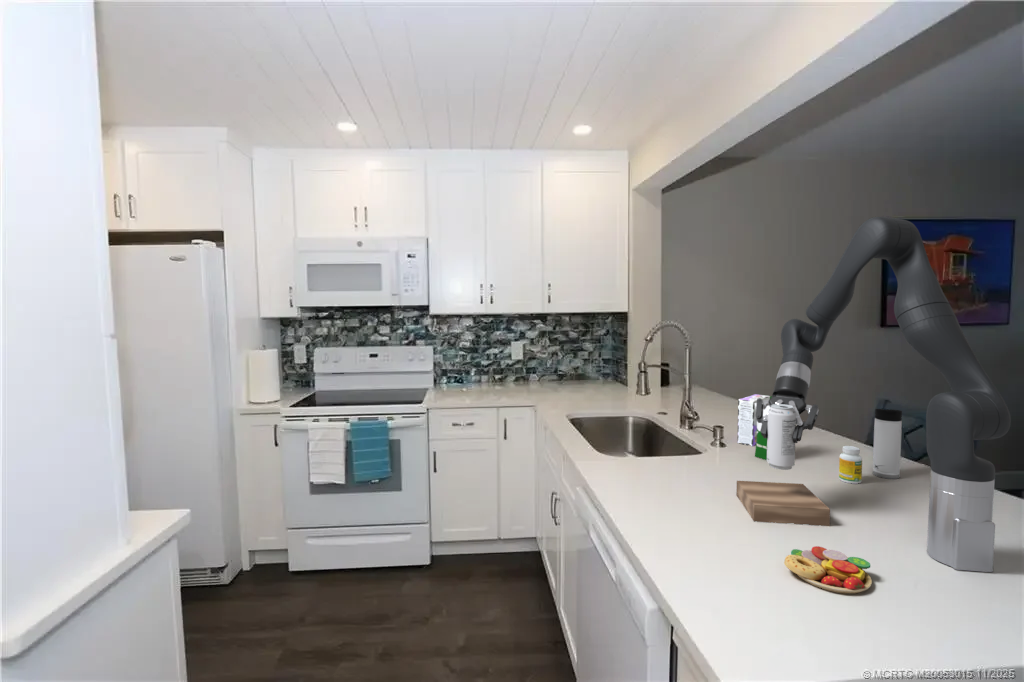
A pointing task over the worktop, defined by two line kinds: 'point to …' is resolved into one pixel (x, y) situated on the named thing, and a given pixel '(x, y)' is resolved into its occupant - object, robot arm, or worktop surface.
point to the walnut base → (782, 503)
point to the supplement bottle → (850, 465)
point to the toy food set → (830, 570)
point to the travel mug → (887, 443)
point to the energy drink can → (781, 436)
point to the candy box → (748, 419)
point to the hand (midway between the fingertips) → (779, 438)
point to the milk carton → (761, 438)
